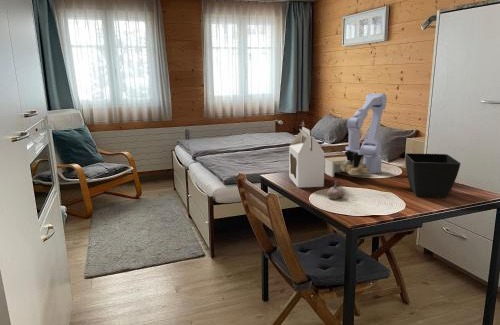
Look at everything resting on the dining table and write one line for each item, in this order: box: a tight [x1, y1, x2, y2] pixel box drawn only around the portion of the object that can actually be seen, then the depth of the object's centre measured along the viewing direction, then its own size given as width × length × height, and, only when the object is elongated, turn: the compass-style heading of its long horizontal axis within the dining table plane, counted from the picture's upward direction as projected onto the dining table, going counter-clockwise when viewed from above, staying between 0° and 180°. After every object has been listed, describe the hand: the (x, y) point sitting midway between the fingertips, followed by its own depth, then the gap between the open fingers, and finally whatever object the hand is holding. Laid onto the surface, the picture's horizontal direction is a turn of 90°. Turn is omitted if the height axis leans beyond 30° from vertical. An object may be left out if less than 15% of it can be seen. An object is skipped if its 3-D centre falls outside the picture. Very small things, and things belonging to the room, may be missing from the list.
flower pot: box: [404, 152, 461, 199], centre depth 172 cm, size 19×19×17 cm
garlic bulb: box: [326, 180, 345, 200], centre depth 169 cm, size 8×7×8 cm
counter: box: [324, 156, 363, 178], centre depth 212 cm, size 18×10×9 cm, turn 104°
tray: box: [340, 160, 370, 176], centre depth 198 cm, size 12×11×5 cm
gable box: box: [288, 126, 325, 189], centre depth 195 cm, size 22×13×28 cm, turn 5°
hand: (353, 165), depth 201 cm, fingers closed on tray, 6 cm apart
